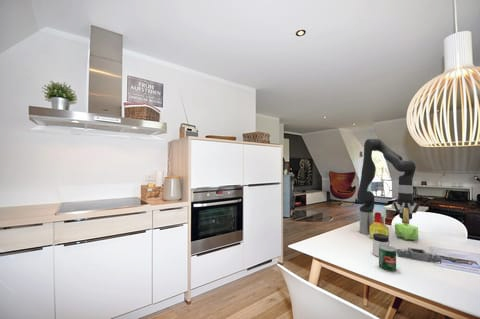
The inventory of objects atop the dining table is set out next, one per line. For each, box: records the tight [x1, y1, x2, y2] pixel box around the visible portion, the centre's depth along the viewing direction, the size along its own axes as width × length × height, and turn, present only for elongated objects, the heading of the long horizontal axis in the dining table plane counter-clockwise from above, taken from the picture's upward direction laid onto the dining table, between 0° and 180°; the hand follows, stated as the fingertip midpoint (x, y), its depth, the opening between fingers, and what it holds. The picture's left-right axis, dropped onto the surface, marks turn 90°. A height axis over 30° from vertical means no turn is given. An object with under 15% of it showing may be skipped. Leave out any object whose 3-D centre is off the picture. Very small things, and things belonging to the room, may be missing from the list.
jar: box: [372, 234, 390, 258], centre depth 132 cm, size 9×8×12 cm
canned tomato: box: [378, 245, 397, 273], centre depth 117 cm, size 8×8×11 cm
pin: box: [401, 207, 410, 224], centre depth 137 cm, size 4×4×10 cm
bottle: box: [369, 211, 390, 239], centre depth 157 cm, size 12×6×20 cm, turn 44°
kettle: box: [392, 222, 419, 241], centre depth 159 cm, size 15×14×11 cm
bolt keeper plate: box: [395, 247, 443, 264], centre depth 128 cm, size 20×8×4 cm, turn 63°
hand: (405, 218), depth 137 cm, fingers closed on pin, 3 cm apart
